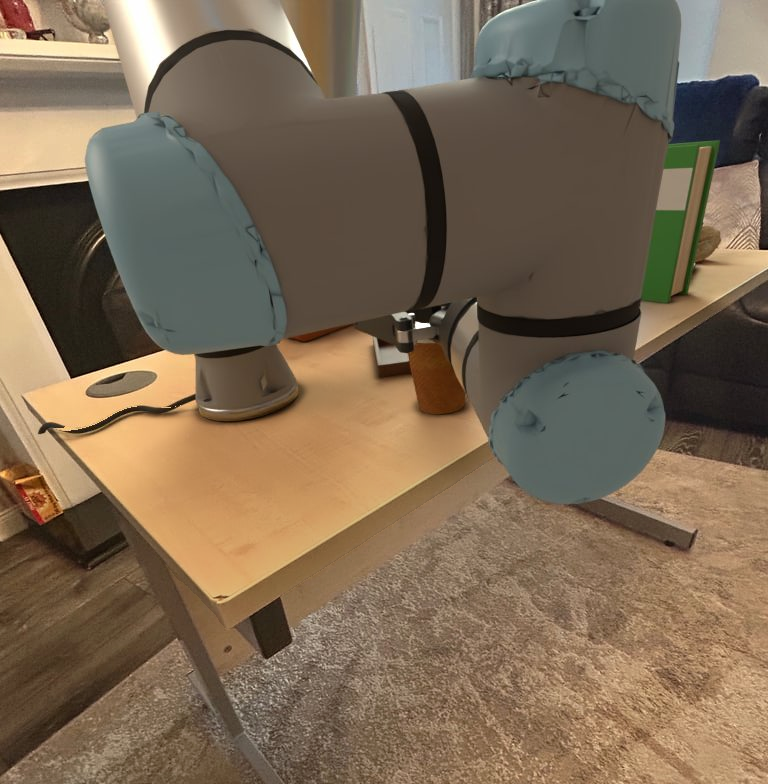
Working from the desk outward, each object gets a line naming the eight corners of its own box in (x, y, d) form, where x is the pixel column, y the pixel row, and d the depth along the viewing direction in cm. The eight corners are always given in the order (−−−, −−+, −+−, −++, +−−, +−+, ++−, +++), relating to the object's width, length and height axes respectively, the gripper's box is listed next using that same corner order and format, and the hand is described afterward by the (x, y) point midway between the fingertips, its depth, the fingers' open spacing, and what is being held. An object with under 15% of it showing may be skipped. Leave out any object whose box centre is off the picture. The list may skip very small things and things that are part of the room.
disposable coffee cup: (392, 410, 72) (382, 321, 65) (435, 385, 77) (430, 300, 70) (448, 426, 66) (444, 330, 59) (491, 398, 72) (491, 307, 65)
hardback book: (687, 293, 100) (720, 140, 86) (666, 303, 97) (697, 145, 83) (604, 283, 112) (621, 147, 98) (583, 292, 109) (597, 152, 95)
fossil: (669, 231, 121) (721, 218, 115) (671, 244, 124) (721, 232, 119) (668, 265, 119) (720, 254, 114) (669, 277, 123) (720, 266, 117)
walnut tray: (379, 377, 83) (378, 365, 82) (373, 346, 95) (372, 336, 94) (476, 364, 83) (476, 352, 82) (457, 335, 95) (457, 324, 94)
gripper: (332, 419, 38) (334, 334, 56) (671, 373, 38) (567, 302, 56) (313, 313, 34) (321, 257, 52) (695, 261, 34) (573, 223, 51)
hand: (448, 281), depth 54 cm, fingers open, 13 cm apart
